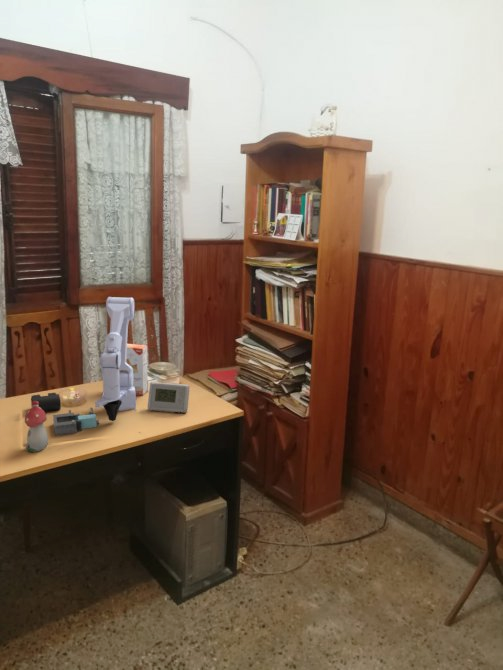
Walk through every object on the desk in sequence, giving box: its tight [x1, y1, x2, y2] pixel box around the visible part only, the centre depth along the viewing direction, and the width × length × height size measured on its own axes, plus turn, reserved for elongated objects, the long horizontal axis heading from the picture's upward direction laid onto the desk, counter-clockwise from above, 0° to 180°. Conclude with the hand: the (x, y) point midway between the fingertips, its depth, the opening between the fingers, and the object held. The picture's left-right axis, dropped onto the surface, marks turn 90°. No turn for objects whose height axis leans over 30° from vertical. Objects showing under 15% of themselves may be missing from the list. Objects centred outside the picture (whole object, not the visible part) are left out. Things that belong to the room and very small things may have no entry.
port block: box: [52, 412, 83, 437], centre depth 183 cm, size 9×10×5 cm
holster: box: [68, 407, 95, 415], centre depth 194 cm, size 9×7×3 cm
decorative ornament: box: [24, 401, 49, 453], centre depth 169 cm, size 9×6×15 cm
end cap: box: [30, 392, 62, 413], centre depth 198 cm, size 10×7×7 cm
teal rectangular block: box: [78, 413, 100, 430], centre depth 186 cm, size 7×4×4 cm, turn 113°
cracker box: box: [119, 343, 149, 396], centre depth 220 cm, size 14×6×21 cm, turn 80°
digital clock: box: [147, 381, 190, 414], centre depth 205 cm, size 16×9×11 cm, turn 72°
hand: (112, 419), depth 189 cm, fingers closed
